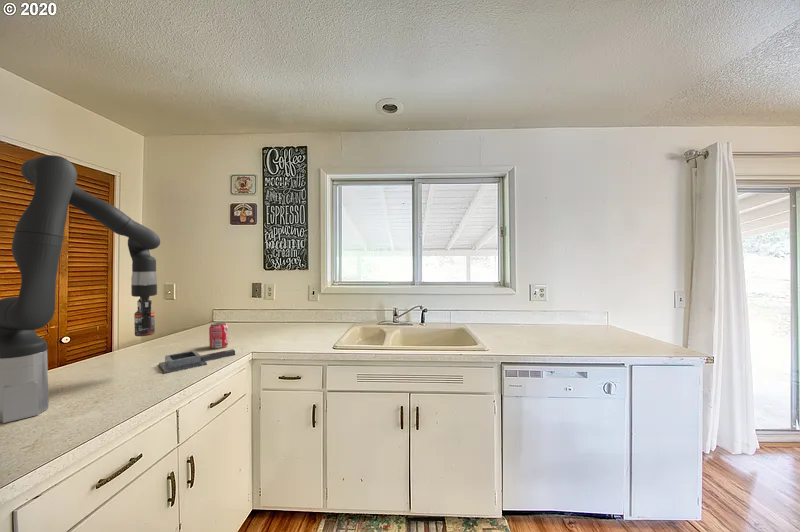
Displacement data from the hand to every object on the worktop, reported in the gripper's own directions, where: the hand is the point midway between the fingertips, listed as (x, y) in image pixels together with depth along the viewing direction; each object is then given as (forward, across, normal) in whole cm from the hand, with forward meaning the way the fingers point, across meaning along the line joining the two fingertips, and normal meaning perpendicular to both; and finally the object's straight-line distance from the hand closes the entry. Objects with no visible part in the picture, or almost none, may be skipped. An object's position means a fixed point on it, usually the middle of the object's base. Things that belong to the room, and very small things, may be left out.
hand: (144, 326), depth 115 cm
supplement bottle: (+3, 0, 0) cm, 3 cm away
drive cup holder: (+18, -1, +18) cm, 26 cm away
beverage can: (+18, -19, +30) cm, 40 cm away
